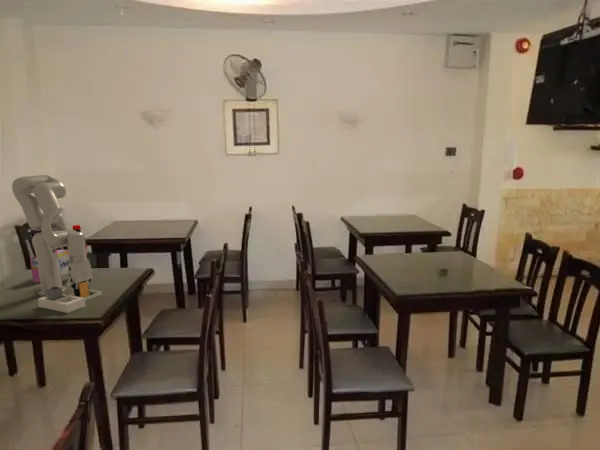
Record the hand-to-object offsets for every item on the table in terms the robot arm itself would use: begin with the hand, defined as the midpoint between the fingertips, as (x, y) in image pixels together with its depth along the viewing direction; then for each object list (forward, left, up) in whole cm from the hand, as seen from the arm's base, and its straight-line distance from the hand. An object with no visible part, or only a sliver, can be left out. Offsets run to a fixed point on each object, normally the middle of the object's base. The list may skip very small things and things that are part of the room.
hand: (81, 294), depth 221 cm
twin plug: (-1, -13, -2) cm, 13 cm away
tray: (+1, 0, -3) cm, 3 cm away
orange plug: (0, 0, -2) cm, 2 cm away
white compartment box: (+1, -13, -3) cm, 13 cm away
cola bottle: (-33, +26, -3) cm, 43 cm away
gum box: (-51, +21, -3) cm, 55 cm away
